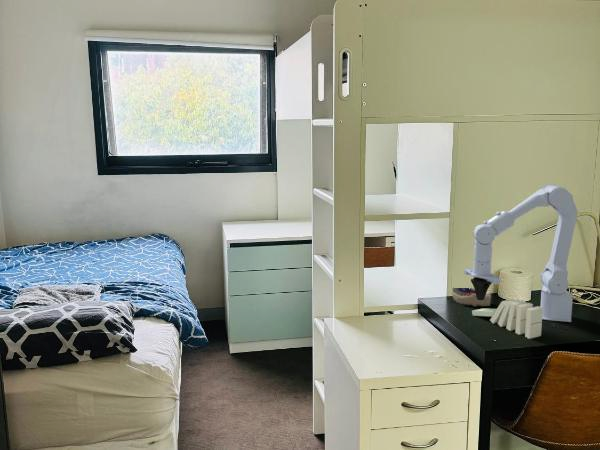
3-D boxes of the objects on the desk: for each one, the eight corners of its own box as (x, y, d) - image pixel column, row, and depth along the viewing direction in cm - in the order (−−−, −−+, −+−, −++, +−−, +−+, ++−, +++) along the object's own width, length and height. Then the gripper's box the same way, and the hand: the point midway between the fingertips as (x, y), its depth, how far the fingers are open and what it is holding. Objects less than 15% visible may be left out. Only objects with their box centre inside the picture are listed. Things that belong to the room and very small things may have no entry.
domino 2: (489, 320, 180) (501, 301, 174) (501, 317, 182) (513, 298, 176) (493, 323, 179) (505, 304, 173) (504, 321, 181) (516, 302, 175)
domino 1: (471, 310, 187) (491, 311, 179) (482, 308, 189) (502, 309, 181) (472, 315, 187) (492, 316, 179) (483, 313, 189) (503, 313, 181)
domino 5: (515, 333, 170) (516, 305, 169) (526, 330, 173) (528, 302, 171) (519, 334, 169) (521, 306, 167) (531, 331, 171) (532, 304, 170)
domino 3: (497, 323, 177) (506, 301, 172) (508, 321, 179) (518, 299, 175) (501, 327, 176) (510, 304, 171) (512, 324, 178) (521, 302, 173)
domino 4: (506, 328, 174) (510, 302, 171) (517, 325, 176) (522, 300, 173) (510, 330, 172) (514, 304, 170) (521, 328, 175) (526, 302, 172)
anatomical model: (476, 294, 210) (477, 282, 209) (497, 307, 194) (497, 295, 193) (446, 296, 208) (446, 284, 207) (464, 310, 193) (465, 297, 192)
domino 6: (525, 337, 167) (526, 308, 166) (536, 334, 169) (538, 306, 168) (529, 338, 166) (531, 310, 164) (540, 335, 168) (542, 307, 166)
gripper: (458, 257, 188) (456, 295, 191) (489, 266, 176) (487, 307, 178) (473, 255, 191) (472, 292, 194) (505, 264, 179) (503, 304, 181)
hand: (480, 299), depth 186 cm, fingers closed
